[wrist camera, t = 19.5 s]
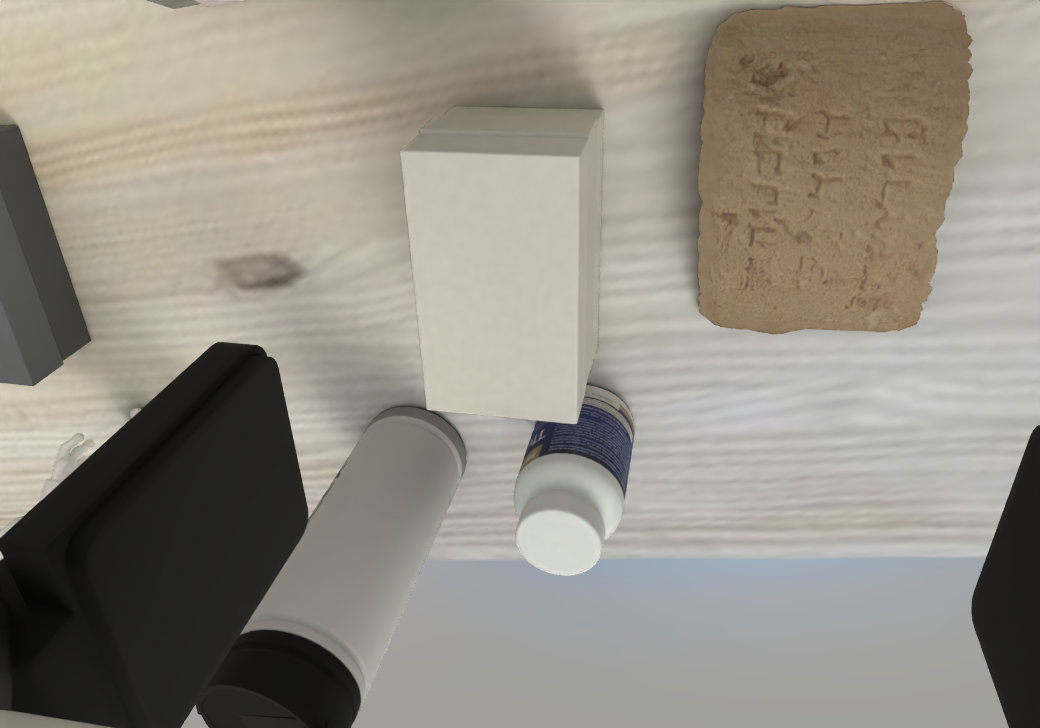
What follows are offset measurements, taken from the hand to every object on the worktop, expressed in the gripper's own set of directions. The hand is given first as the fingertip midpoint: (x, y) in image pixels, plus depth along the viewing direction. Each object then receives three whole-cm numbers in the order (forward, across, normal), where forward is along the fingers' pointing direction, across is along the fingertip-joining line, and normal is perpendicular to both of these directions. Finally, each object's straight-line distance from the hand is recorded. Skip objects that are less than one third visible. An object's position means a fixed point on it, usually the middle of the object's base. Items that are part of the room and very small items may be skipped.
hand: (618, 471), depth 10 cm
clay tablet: (+28, -6, +5) cm, 30 cm away
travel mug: (+28, +14, +22) cm, 39 cm away
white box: (+23, +7, +8) cm, 26 cm away
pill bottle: (+28, +4, +19) cm, 34 cm away
